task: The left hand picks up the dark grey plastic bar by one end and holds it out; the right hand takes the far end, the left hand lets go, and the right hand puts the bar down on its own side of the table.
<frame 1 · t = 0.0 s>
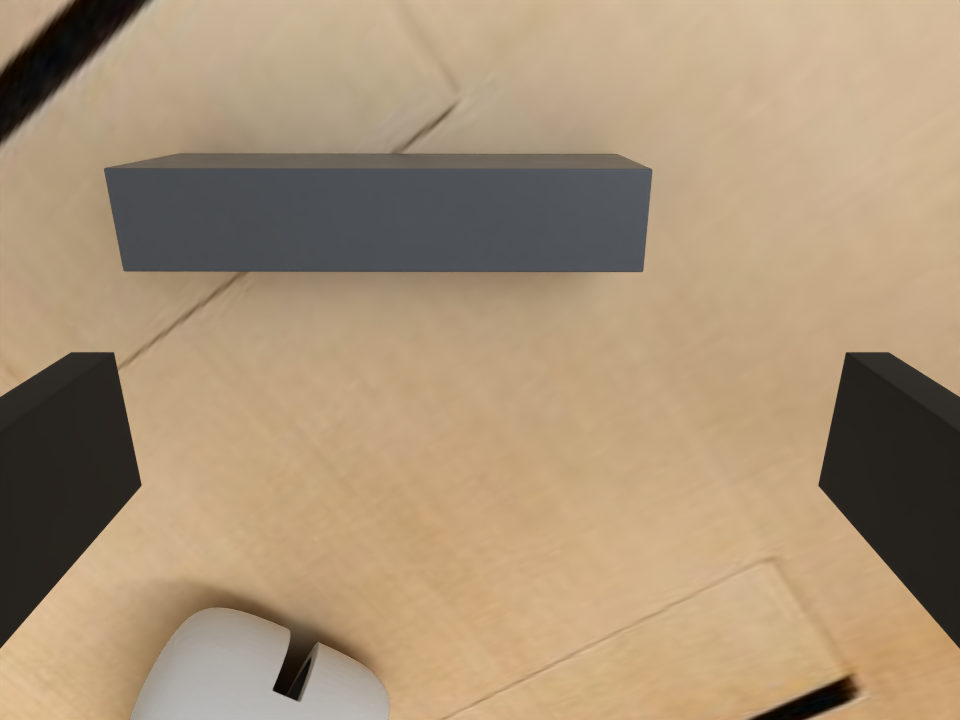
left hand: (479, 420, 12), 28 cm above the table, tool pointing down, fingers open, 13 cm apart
bar: (400, 196, 38), on the table
projector: (255, 710, 53), on the table
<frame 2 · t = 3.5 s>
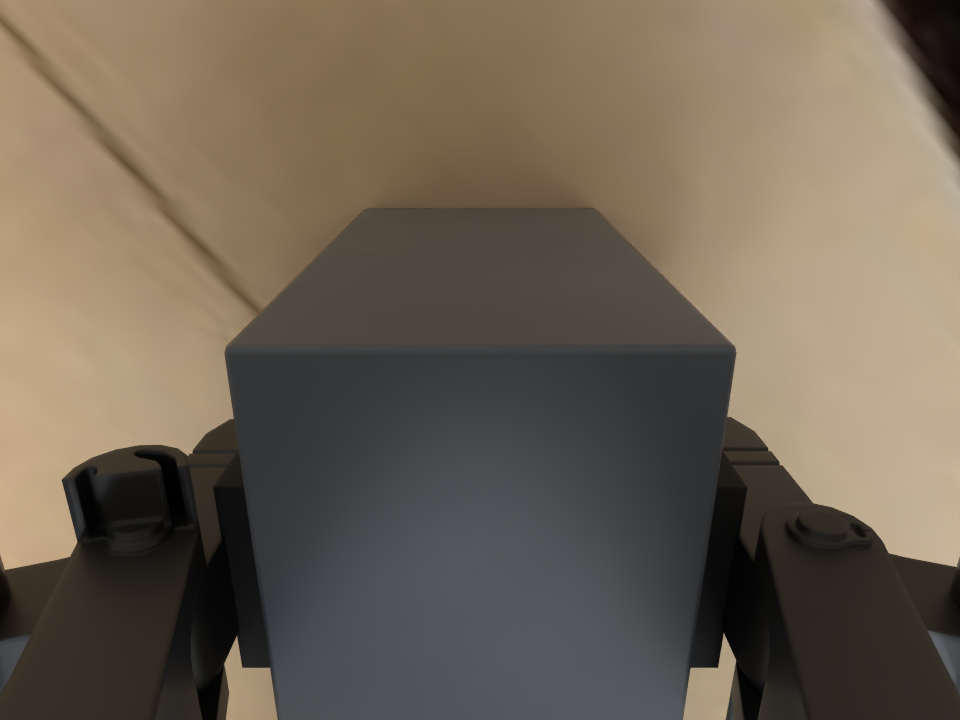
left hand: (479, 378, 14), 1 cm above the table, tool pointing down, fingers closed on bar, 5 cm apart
bar: (480, 671, 18), on the table, touching left hand
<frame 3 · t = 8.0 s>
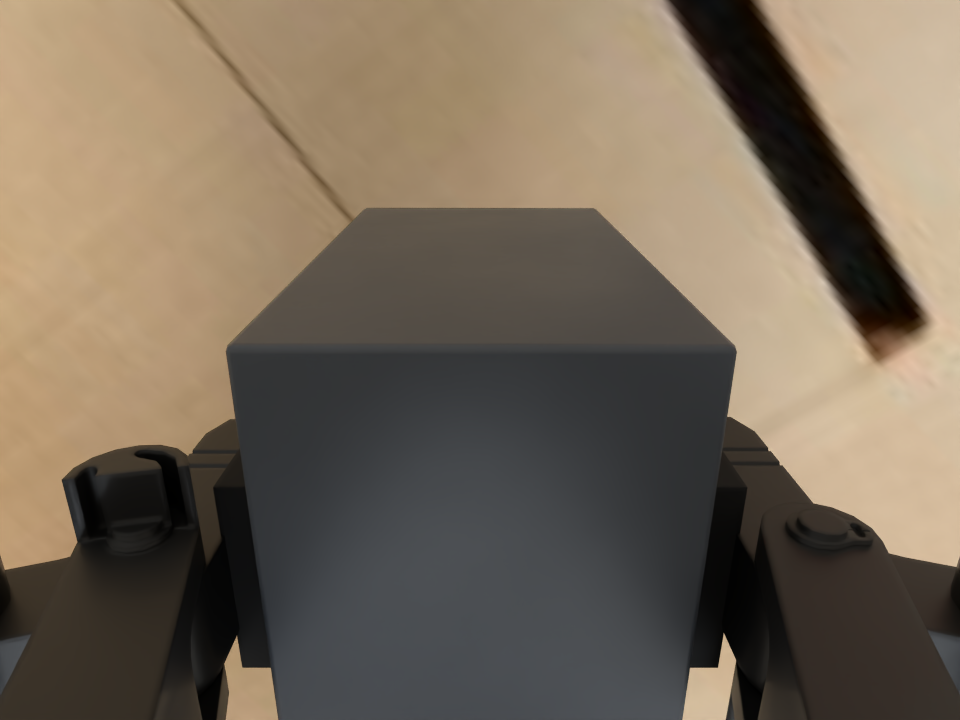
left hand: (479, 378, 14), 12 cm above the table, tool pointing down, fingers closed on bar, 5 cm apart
bar: (479, 670, 18), point 12 cm above the table, touching left hand, right hand
when the left hand's fingers open (12 cm above the table, at t = 8.9 s): bar stays where it is, held by the right hand.
when the right hand's fingers open (4 cm above the table, at t = 15.4 s): bar stays where it is, on the table.
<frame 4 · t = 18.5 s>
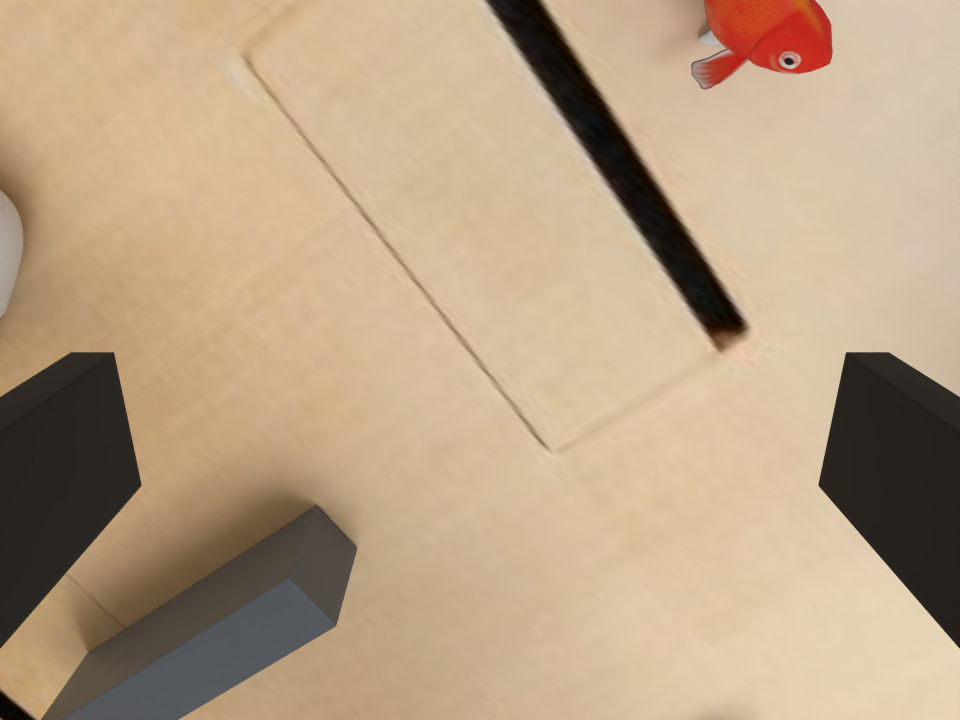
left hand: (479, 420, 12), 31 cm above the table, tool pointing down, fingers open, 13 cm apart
bar: (217, 602, 53), on the table
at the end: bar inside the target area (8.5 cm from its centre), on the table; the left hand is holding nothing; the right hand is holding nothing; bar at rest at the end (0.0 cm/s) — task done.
